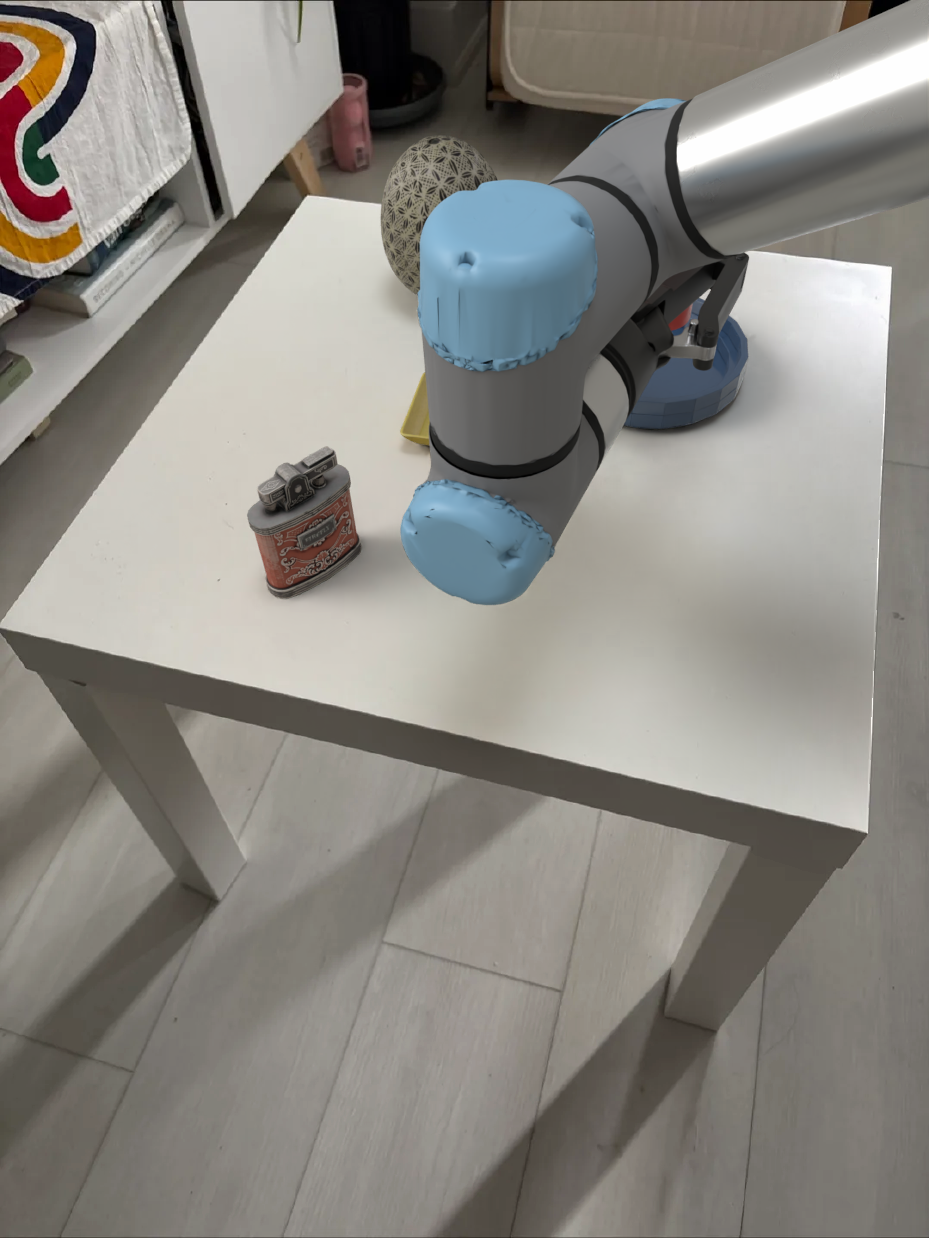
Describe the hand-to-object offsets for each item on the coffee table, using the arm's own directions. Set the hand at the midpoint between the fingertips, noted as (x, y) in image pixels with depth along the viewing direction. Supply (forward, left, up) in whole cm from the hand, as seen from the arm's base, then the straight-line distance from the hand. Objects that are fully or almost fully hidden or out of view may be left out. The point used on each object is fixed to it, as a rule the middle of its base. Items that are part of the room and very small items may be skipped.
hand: (692, 201), depth 70 cm
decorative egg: (+24, -7, -18) cm, 31 cm away
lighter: (+17, +29, -18) cm, 38 cm away
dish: (+2, -3, -18) cm, 18 cm away
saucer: (+14, +10, -18) cm, 25 cm away
